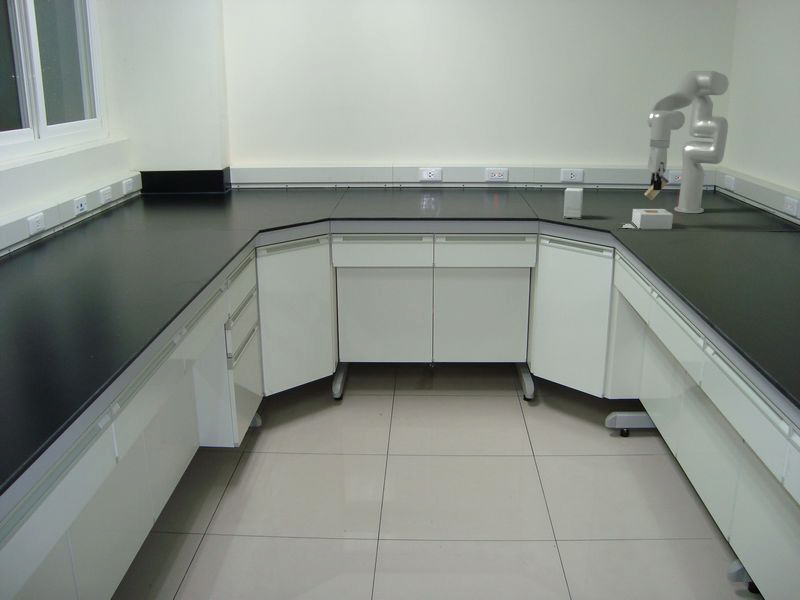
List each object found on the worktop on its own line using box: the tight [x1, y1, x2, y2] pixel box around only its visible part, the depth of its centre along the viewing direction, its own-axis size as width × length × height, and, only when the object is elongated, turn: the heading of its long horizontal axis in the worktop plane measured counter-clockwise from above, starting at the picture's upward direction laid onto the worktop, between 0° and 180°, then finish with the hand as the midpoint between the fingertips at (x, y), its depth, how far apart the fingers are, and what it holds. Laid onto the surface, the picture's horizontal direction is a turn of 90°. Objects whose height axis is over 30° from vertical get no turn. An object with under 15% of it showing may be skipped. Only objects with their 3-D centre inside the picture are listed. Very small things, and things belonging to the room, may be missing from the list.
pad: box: [622, 223, 636, 230], centre depth 304 cm, size 8×8×1 cm
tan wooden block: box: [643, 176, 669, 201], centre depth 302 cm, size 3×3×10 cm
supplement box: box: [563, 187, 584, 218], centre depth 322 cm, size 7×7×13 cm
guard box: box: [631, 208, 674, 230], centre depth 305 cm, size 12×13×6 cm
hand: (655, 188), depth 302 cm, fingers closed on tan wooden block, 3 cm apart
